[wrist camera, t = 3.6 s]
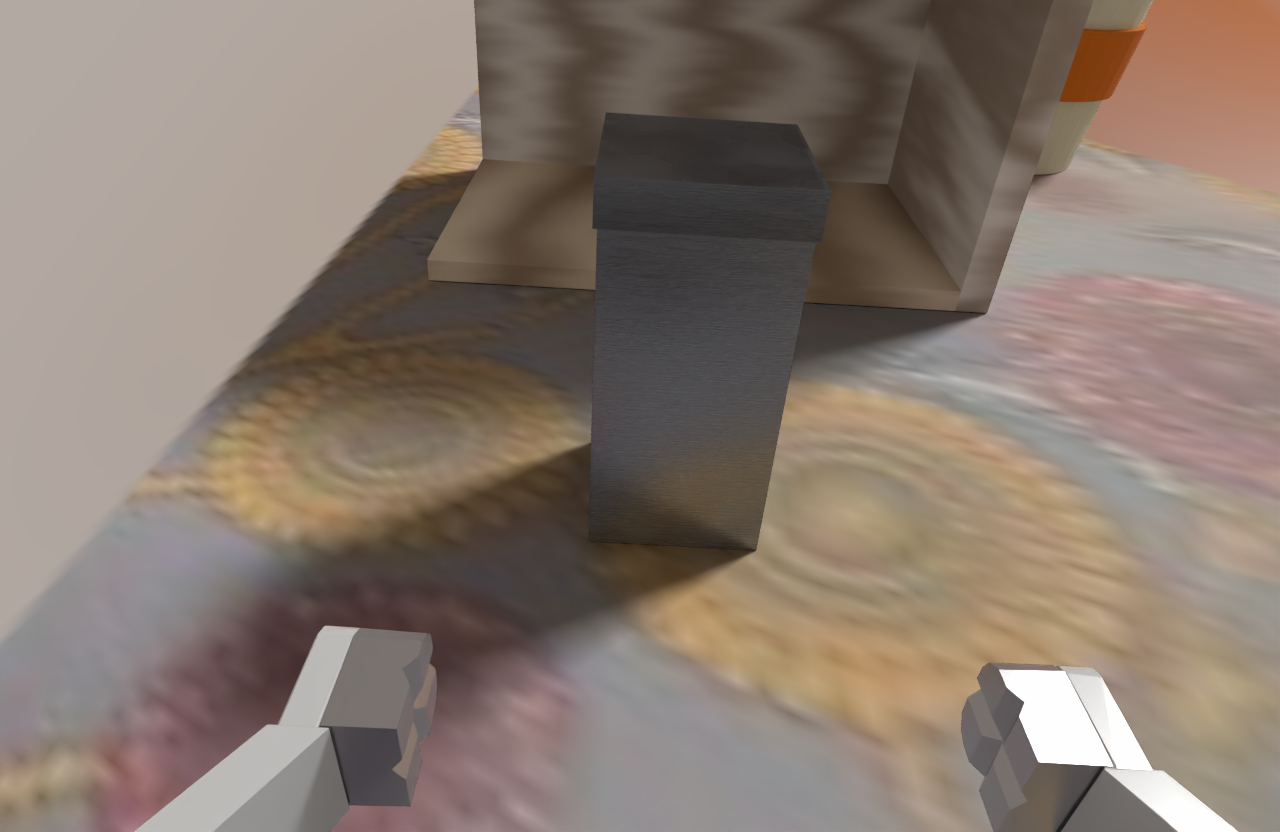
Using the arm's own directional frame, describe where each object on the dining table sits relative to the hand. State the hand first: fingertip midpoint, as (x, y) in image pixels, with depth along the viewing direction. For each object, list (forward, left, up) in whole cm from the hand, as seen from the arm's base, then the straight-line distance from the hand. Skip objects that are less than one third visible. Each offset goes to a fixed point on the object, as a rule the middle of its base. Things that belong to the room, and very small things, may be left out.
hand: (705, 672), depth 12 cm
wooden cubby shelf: (-2, -34, -7) cm, 35 cm away
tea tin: (0, -12, -7) cm, 14 cm away
